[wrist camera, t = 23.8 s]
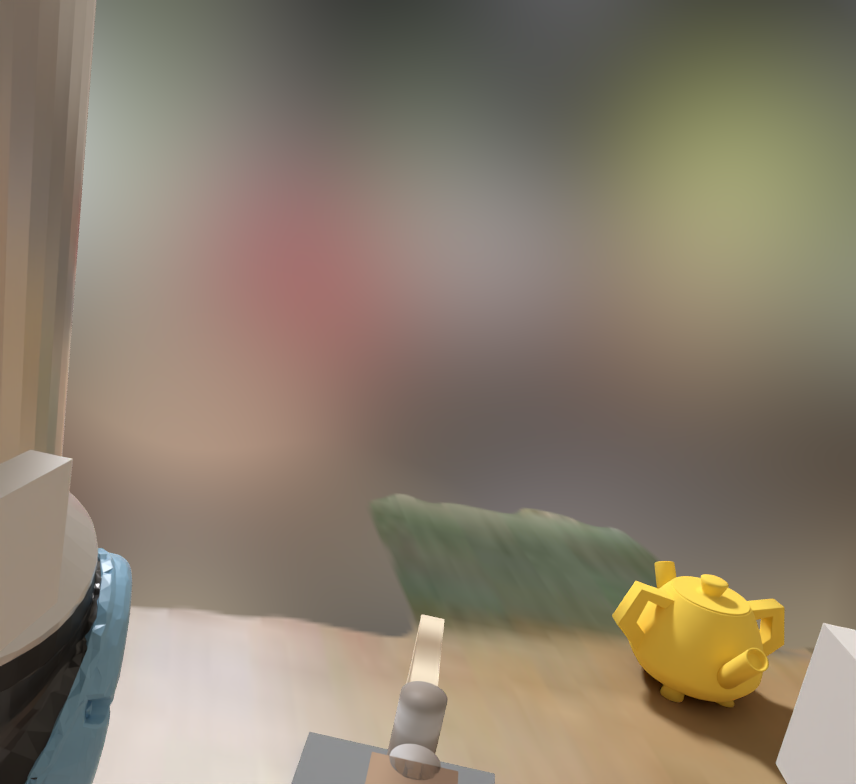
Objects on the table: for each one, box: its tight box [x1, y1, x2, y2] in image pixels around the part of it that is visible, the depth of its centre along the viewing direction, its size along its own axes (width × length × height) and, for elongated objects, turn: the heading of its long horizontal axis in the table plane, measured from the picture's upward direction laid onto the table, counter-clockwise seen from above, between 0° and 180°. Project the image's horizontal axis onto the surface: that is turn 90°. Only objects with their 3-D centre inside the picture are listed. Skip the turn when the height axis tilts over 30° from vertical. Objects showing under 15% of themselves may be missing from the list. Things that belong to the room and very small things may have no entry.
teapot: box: [612, 561, 784, 707], centre depth 76 cm, size 20×18×11 cm
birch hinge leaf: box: [387, 615, 447, 756], centre depth 48 cm, size 12×3×13 cm, turn 176°
